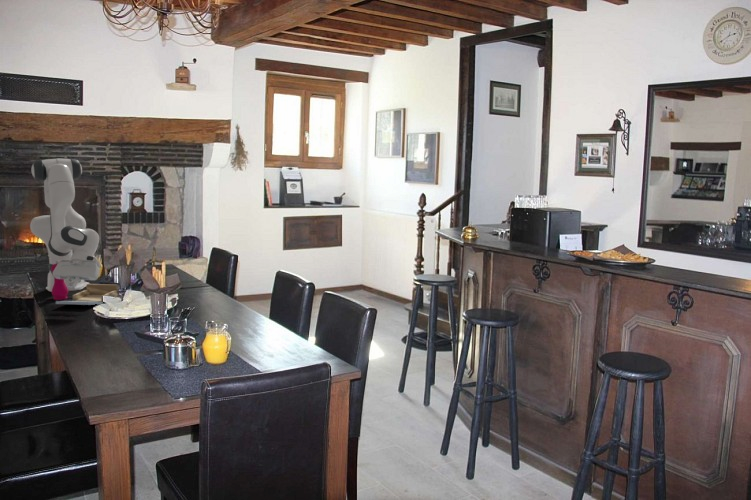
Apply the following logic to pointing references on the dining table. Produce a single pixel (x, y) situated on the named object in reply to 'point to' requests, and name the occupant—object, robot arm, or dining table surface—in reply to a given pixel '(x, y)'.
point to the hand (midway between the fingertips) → (70, 286)
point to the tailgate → (78, 302)
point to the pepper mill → (59, 287)
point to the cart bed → (96, 292)
